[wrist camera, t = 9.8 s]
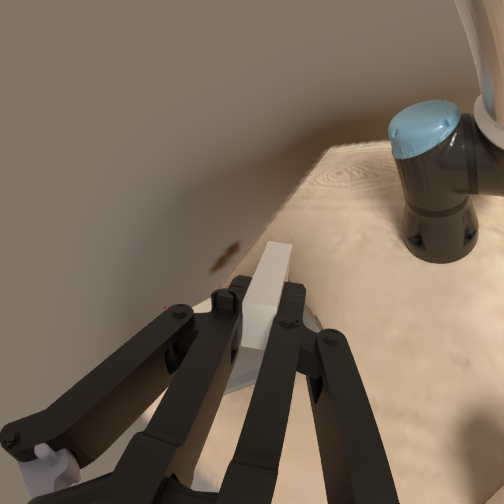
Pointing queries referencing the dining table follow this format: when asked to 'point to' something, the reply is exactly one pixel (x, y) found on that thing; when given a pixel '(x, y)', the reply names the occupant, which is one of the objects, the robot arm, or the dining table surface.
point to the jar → (497, 497)
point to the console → (252, 352)
